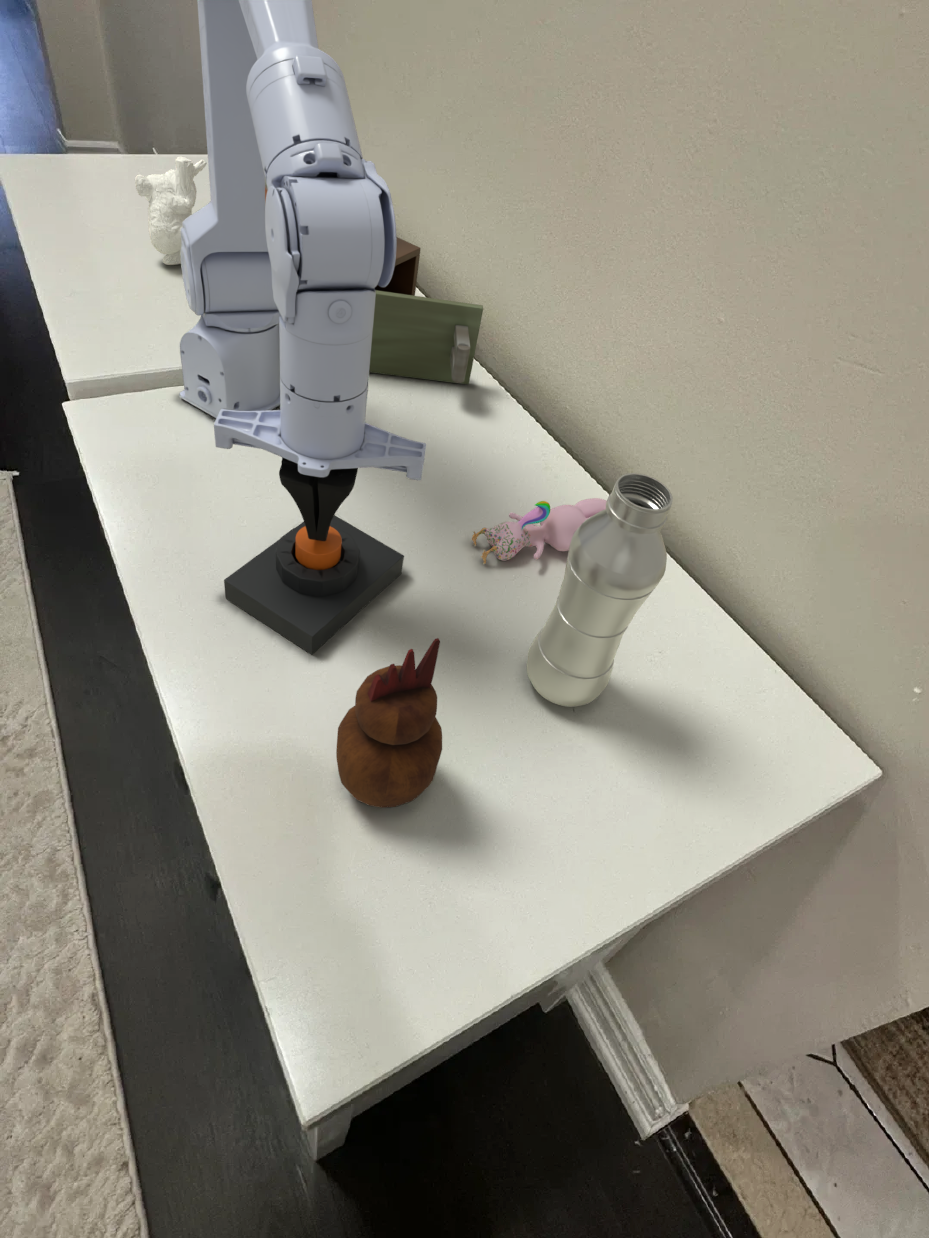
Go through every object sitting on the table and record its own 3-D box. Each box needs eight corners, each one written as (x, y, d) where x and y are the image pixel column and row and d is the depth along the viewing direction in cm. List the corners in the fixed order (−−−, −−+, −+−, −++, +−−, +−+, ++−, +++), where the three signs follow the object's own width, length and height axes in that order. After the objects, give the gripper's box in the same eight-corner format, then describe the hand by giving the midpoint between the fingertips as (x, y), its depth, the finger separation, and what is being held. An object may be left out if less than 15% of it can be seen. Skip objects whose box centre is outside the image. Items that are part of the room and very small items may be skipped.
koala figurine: (208, 248, 101) (200, 147, 93) (220, 272, 98) (213, 169, 89) (140, 249, 98) (125, 145, 89) (150, 274, 94) (136, 168, 85)
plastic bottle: (549, 639, 65) (624, 445, 50) (615, 686, 63) (714, 497, 48) (504, 681, 61) (571, 484, 47) (572, 733, 59) (665, 543, 44)
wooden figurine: (430, 749, 56) (465, 612, 45) (430, 822, 52) (468, 692, 41) (337, 743, 55) (348, 602, 44) (330, 817, 51) (341, 683, 40)
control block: (311, 654, 60) (312, 621, 57) (225, 598, 62) (222, 563, 59) (401, 573, 67) (406, 540, 64) (321, 526, 70) (322, 491, 67)
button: (321, 577, 60) (321, 561, 59) (285, 555, 61) (285, 539, 60) (349, 553, 63) (350, 537, 61) (315, 533, 64) (315, 517, 62)
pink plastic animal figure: (488, 588, 70) (634, 547, 73) (491, 542, 65) (646, 501, 69) (464, 542, 73) (603, 505, 77) (465, 495, 69) (613, 458, 72)
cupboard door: (471, 410, 86) (486, 332, 79) (339, 394, 84) (344, 313, 77) (468, 381, 90) (483, 305, 83) (342, 365, 88) (347, 286, 81)
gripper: (194, 391, 47) (211, 552, 57) (429, 431, 48) (405, 581, 58) (224, 335, 52) (235, 492, 62) (437, 372, 53) (414, 521, 63)
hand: (319, 531), depth 60 cm, fingers closed
